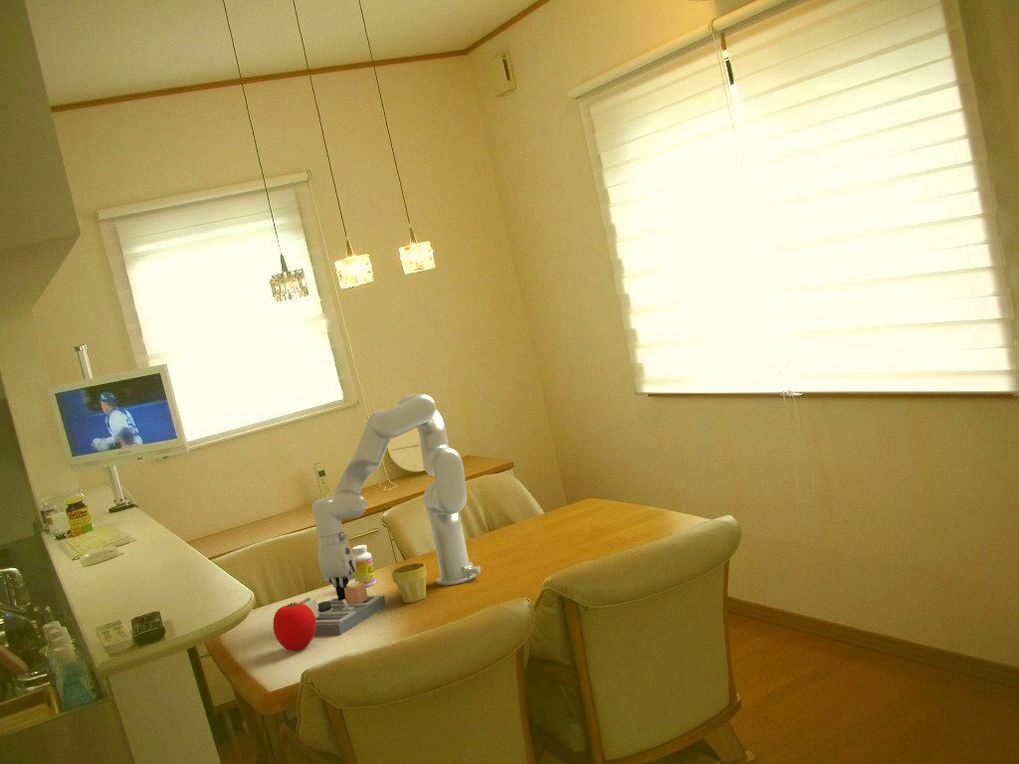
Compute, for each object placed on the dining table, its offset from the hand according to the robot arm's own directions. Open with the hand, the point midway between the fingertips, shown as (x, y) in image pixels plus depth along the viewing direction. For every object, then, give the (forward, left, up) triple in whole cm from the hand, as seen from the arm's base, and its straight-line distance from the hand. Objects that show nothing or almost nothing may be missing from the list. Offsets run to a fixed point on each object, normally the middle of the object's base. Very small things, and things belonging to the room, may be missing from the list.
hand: (343, 599), depth 303 cm
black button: (+2, +7, -1) cm, 7 cm away
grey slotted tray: (-2, +7, -4) cm, 8 cm away
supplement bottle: (+11, -28, -4) cm, 30 cm away
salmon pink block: (-5, 0, -1) cm, 5 cm away
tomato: (-4, +29, -4) cm, 30 cm away
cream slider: (+3, +14, -1) cm, 14 cm away
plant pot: (-18, -10, -4) cm, 21 cm away
